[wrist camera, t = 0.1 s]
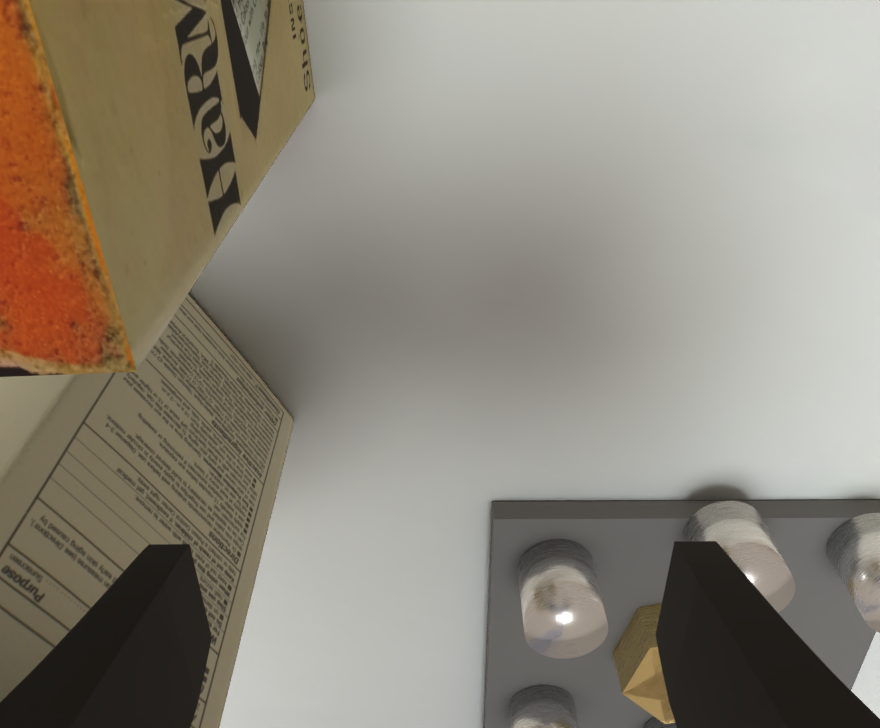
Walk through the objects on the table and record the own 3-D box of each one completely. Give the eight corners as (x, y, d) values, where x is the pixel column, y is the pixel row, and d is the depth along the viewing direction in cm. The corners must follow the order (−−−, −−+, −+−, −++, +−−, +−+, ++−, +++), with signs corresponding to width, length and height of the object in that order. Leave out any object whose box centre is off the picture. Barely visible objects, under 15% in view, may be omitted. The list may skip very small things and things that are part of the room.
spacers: (799, 793, 31) (826, 860, 28) (502, 794, 31) (507, 861, 29) (921, 499, 23) (972, 562, 21) (521, 501, 23) (529, 563, 21)
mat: (796, 778, 31) (804, 797, 31) (481, 779, 31) (482, 798, 31) (910, 499, 24) (924, 517, 23) (492, 501, 24) (493, 519, 23)
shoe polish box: (102, 108, 18) (-369, 390, 7) (34, -148, 15) (-827, -263, 5) (314, 98, 18) (136, 372, 7) (282, -162, 15) (-61, -308, 5)
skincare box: (37, 326, 21) (-380, 761, 10) (161, 251, 20) (-163, 654, 9) (190, 486, 24) (-12, 954, 13) (306, 429, 22) (188, 891, 12)
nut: (753, 665, 27) (771, 708, 25) (621, 688, 27) (631, 730, 26) (745, 587, 25) (764, 628, 23) (603, 613, 25) (613, 655, 24)
